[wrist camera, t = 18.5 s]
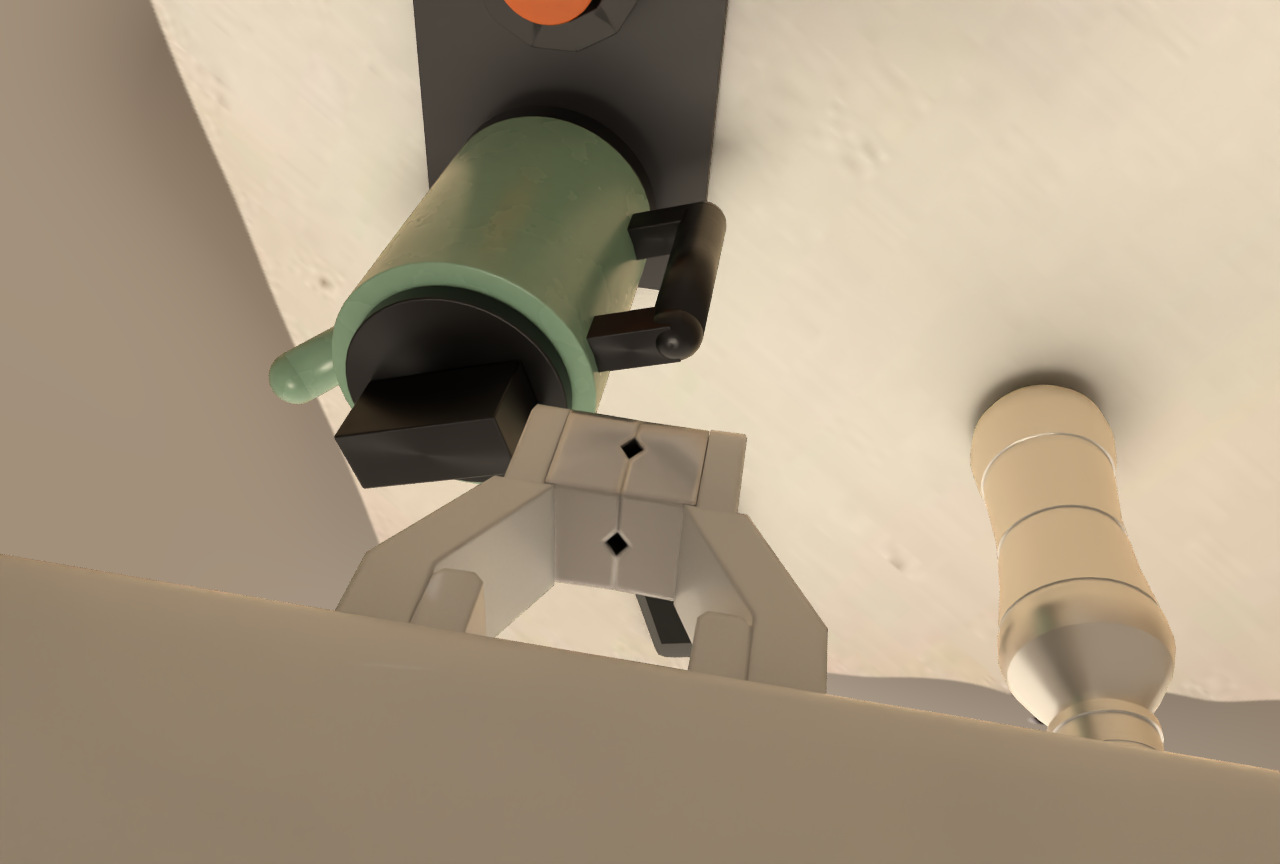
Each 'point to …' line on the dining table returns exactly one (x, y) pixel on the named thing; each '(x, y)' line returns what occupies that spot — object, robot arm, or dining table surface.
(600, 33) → the button base
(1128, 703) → the silver tall bottle
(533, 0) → the power button
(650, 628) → the cell phone
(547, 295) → the kettle
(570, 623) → the dining table surface
